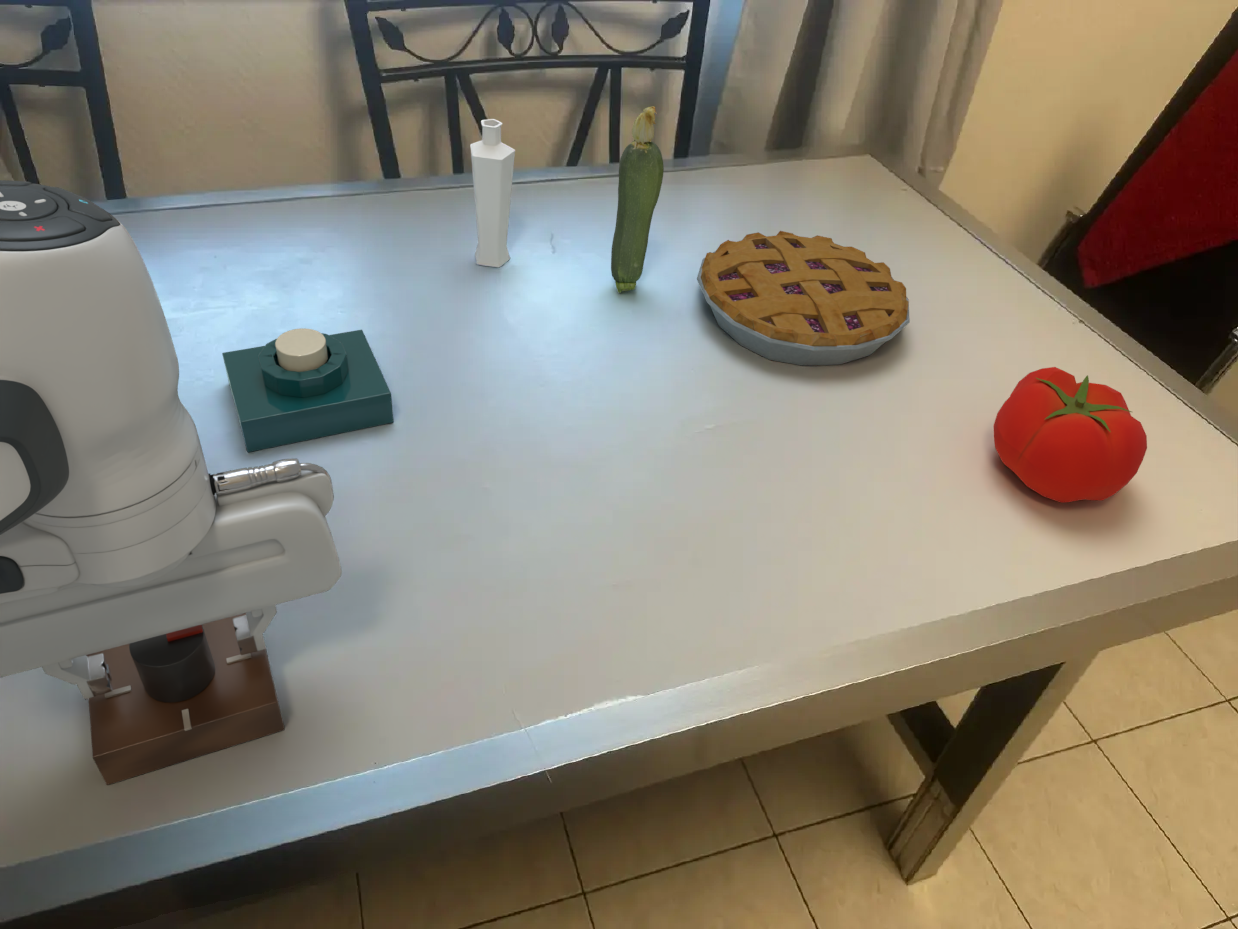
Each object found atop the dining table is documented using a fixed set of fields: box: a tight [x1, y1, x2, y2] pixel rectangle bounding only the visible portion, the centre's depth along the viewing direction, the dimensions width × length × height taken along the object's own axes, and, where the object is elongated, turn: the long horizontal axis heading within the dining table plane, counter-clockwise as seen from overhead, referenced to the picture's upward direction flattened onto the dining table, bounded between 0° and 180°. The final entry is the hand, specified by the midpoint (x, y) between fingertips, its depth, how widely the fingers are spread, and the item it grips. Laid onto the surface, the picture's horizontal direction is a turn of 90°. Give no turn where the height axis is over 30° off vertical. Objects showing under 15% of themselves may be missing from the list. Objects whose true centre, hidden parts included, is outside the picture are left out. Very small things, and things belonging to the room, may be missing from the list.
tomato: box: [993, 366, 1148, 504], centre depth 82 cm, size 13×12×8 cm
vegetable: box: [610, 105, 665, 295], centre depth 95 cm, size 4×4×20 cm
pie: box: [696, 230, 911, 366], centre depth 99 cm, size 22×22×5 cm
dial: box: [129, 625, 215, 703], centre depth 56 cm, size 4×4×4 cm
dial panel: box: [86, 613, 286, 786], centre depth 59 cm, size 10×8×3 cm
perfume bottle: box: [469, 118, 516, 268], centre depth 99 cm, size 5×4×15 cm
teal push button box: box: [221, 329, 395, 453], centre depth 81 cm, size 12×10×5 cm
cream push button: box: [275, 327, 328, 372], centre depth 79 cm, size 4×4×2 cm
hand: (177, 665), depth 57 cm, fingers open, 7 cm apart
